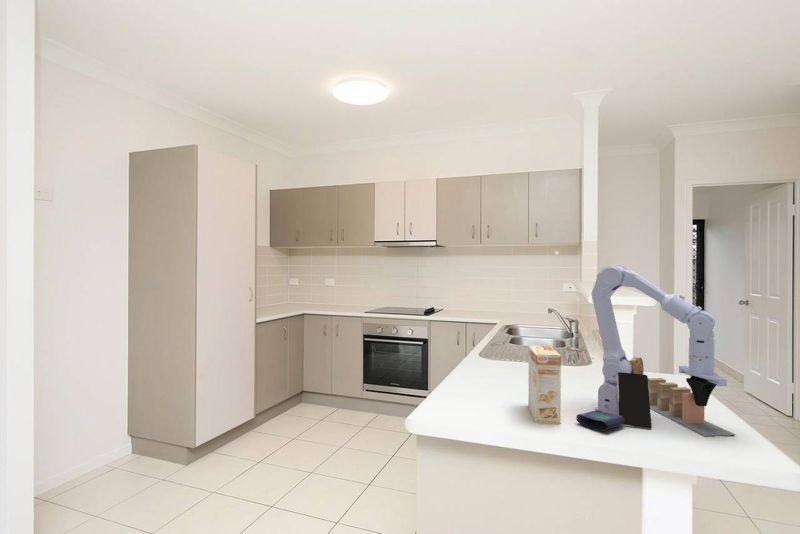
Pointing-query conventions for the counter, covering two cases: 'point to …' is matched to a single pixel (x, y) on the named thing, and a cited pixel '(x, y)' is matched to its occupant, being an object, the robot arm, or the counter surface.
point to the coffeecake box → (544, 384)
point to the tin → (636, 365)
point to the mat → (696, 425)
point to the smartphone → (634, 400)
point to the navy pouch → (600, 420)
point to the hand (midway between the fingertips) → (701, 405)
